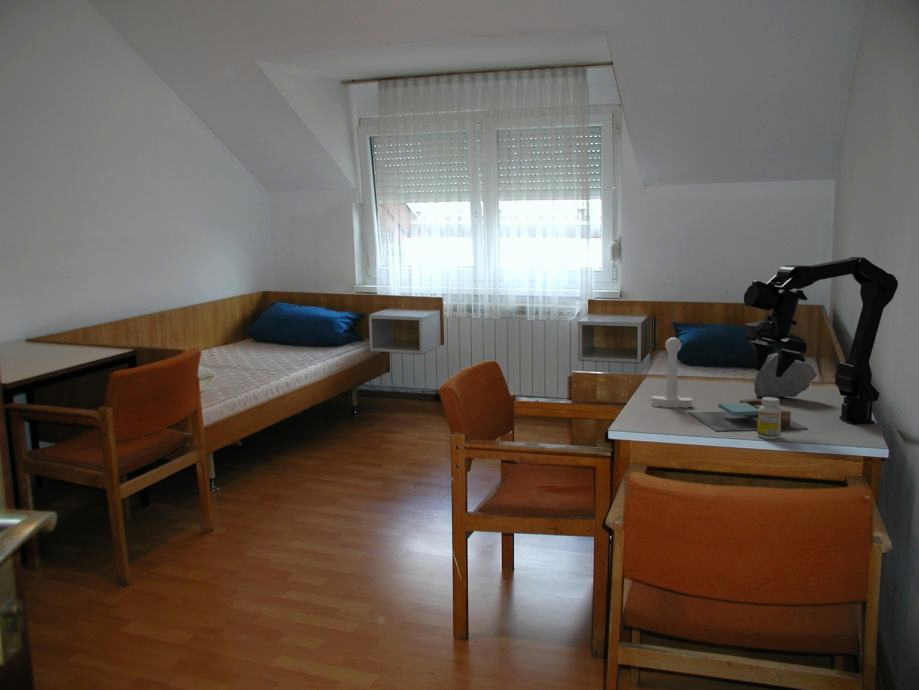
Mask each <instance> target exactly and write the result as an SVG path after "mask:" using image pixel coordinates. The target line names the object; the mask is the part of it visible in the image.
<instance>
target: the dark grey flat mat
mask: <svg viewBox="0 0 919 690" xmlns="http://www.w3.org/2000/svg"><path fill="white" fill-rule="evenodd" d="M739 403H747V404H749V405H751V406H753V405H763V404H762V398H758V399H757V398H755V399H739ZM781 410H782V415H781V431H790V430H791V431H792V430H793V431H795V430H800V429H801V430H808V427H806V426H804V425H802V424H801V423H799V422H796V421H794V420H793V419H791V414H792V412H791V411H790V410H788V409H786V410H785V409H781ZM688 413H689V415H690V416H691V415H692V417H693V418H694V417H695V419H696V420H697V419H698V421H699V422H700V423H702V424H704V425H705V426H707V427H708V428H710V429H711V430H713V431H714V432H715V433H716V432H717V433H719V432H754V431H756V432H757V429H758V415H738V416H733V415H731V414H730V413H728V412H726V411H725V410H723V411H689V412H688ZM801 430H800V431H801Z"/></svg>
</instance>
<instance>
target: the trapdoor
mask: <svg viewBox="0 0 919 690" xmlns="http://www.w3.org/2000/svg"><path fill="white" fill-rule="evenodd" d="M760 406H763V405H753V406H751V405H749V404H747V403H740V402H723V403H718V408H719V409H721V410H723V411H726V412H728V413H730V414H731V415H733V416H738V415H758V410H759V407H760Z"/></svg>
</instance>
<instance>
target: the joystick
mask: <svg viewBox="0 0 919 690" xmlns="http://www.w3.org/2000/svg"><path fill="white" fill-rule="evenodd" d="M664 345H665V346H664V347H665V349H666V350H667V353H668V360H667V361H668V363H667V373H666V385H665V394H664V395H665V396H659V395H652V396H651V401H650V402H651V406H652V405H657V406H656V407H658V406H665V407H664V408H669V407H684V408H683V409H689V408H688V407H691V408H692V405H693V404H692V401H693V398H692V397H680V395H679V386H678V385H679V383H678V353H679V352H680V350H681V348H682V341H680V339H679V338H677V337H674V336H673V337H670V338H668V339H667V340H666V341H665V344H664Z"/></svg>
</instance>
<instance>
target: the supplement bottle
mask: <svg viewBox="0 0 919 690" xmlns="http://www.w3.org/2000/svg"><path fill="white" fill-rule="evenodd" d="M761 399H762V404H763V406H760V407H759V410H758V429H757V431H756V433H757V437H759V438H760V437H761V439H764V438H765V440H778V439H780V437H781V431H782V430H781V415H782V410H783V409H781V407H779V406H780V398H779V397H761Z"/></svg>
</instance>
